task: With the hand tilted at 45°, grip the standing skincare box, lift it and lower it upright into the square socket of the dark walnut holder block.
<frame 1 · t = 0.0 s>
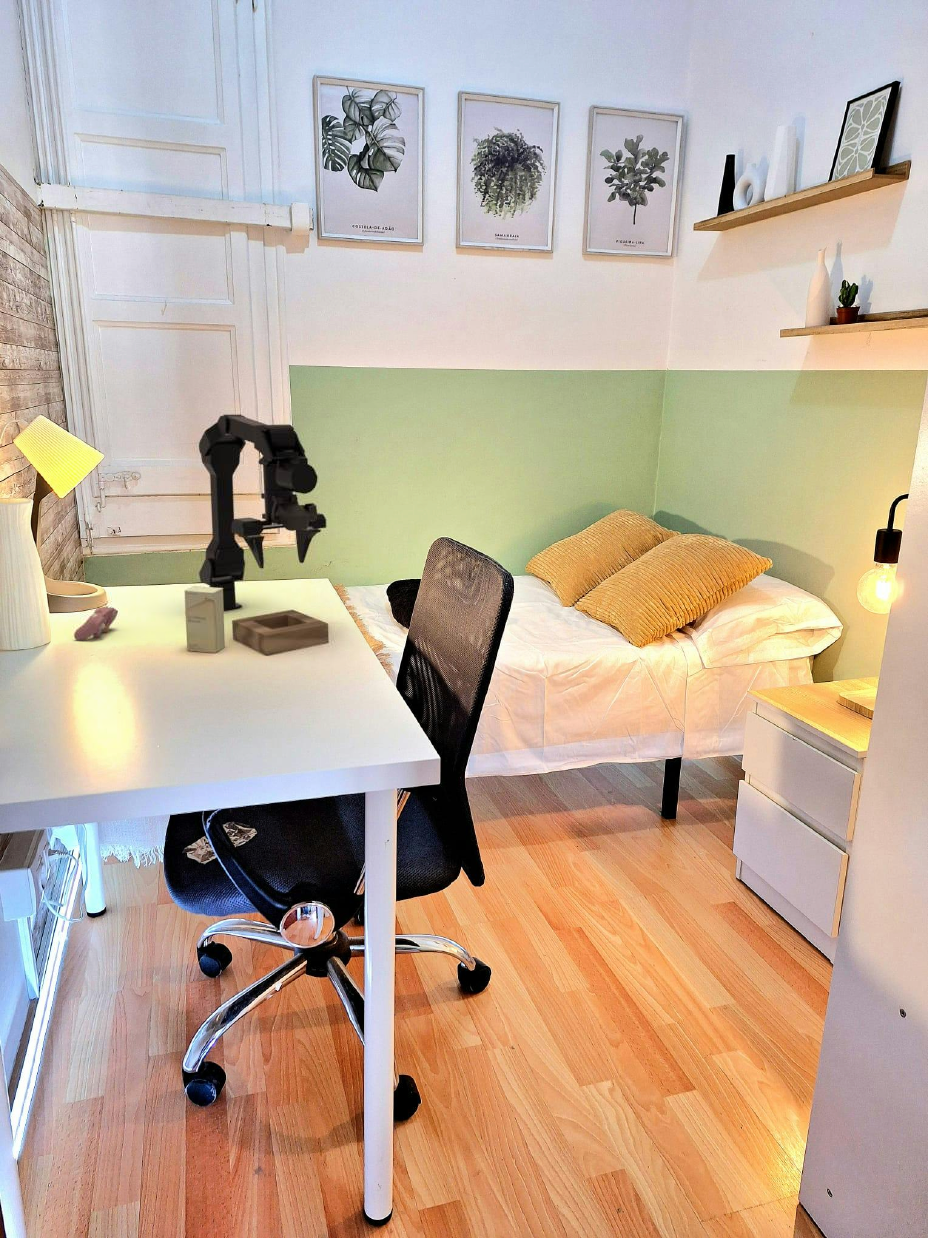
hand: (281, 565, 172), 15 cm above the table, tool pointing down, fingers open, 9 cm apart
walnut holder: (280, 640, 171), on the table
skincare box: (207, 650, 165), on the table
pink toy car: (98, 635, 173), on the table
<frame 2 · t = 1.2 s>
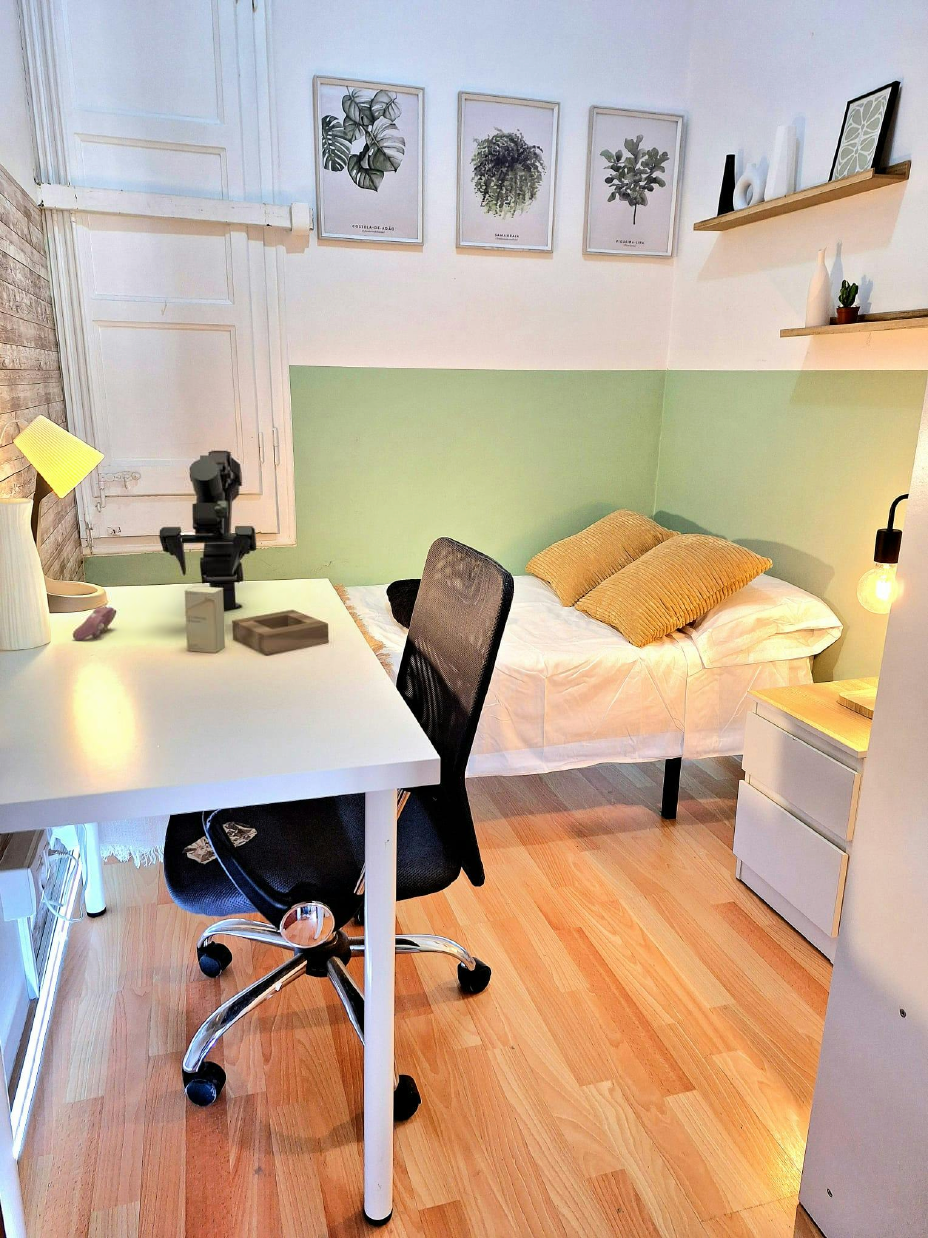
hand: (207, 573, 169), 13 cm above the table, tool tilted 45°, fingers open, 9 cm apart
nothing on the table moved.
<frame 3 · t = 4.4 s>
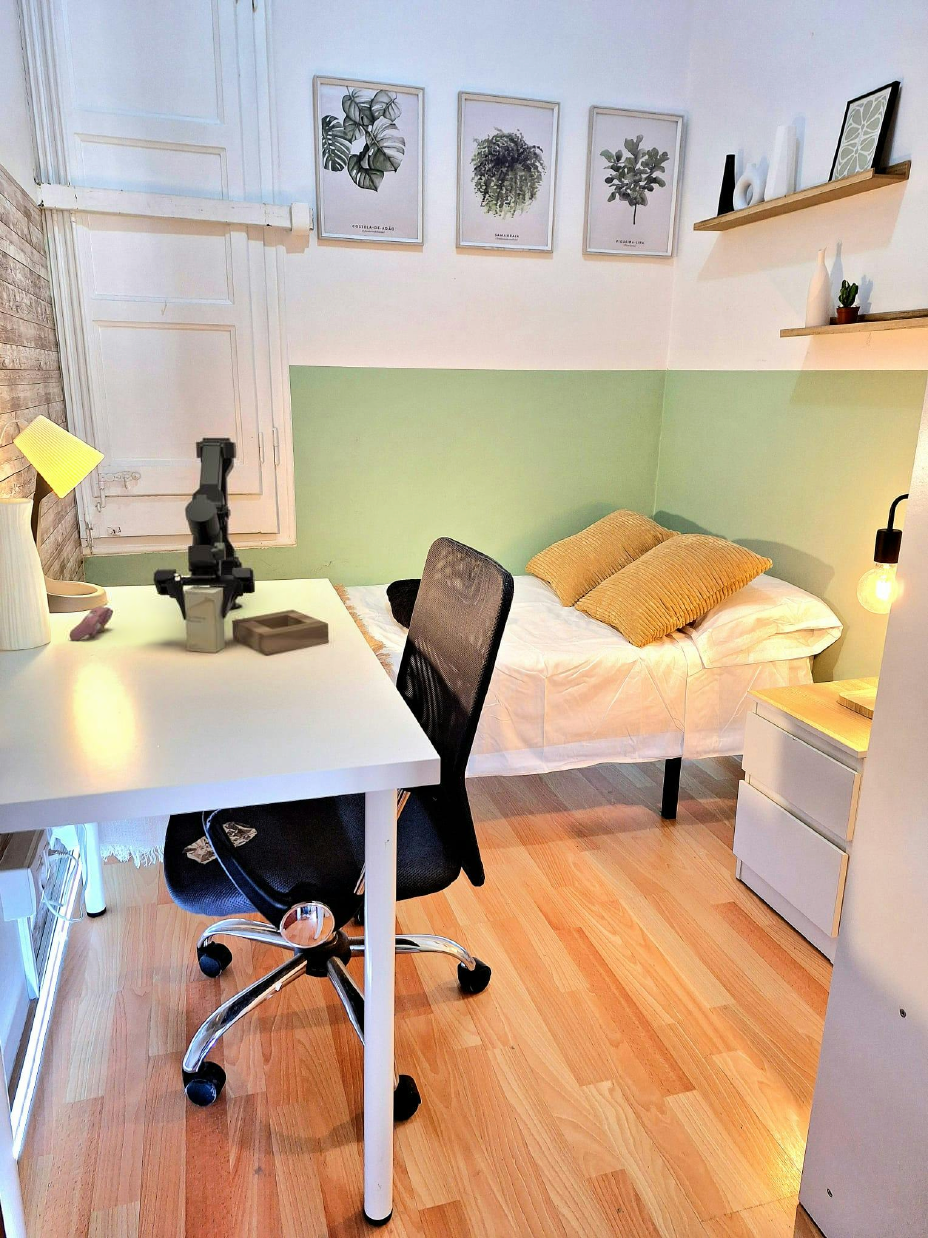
hand: (203, 618, 162), 7 cm above the table, tool tilted 45°, fingers closed on skincare box, 7 cm apart
skincare box: (207, 649, 165), on the table, touching gripper
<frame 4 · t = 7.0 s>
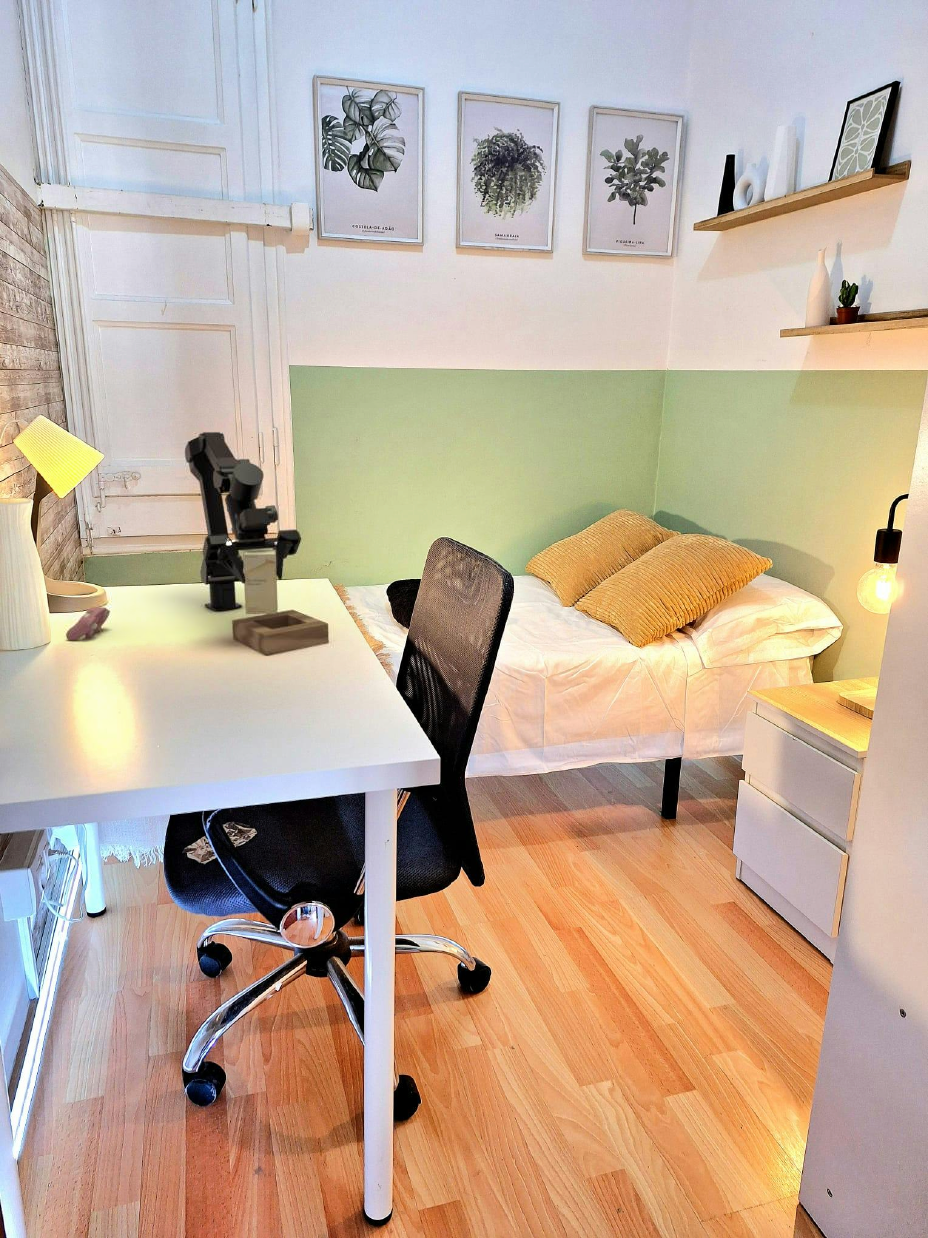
hand: (262, 580, 165), 13 cm above the table, tool tilted 45°, fingers closed on skincare box, 7 cm apart
skincare box: (262, 612, 168), point 6 cm above the table, touching gripper
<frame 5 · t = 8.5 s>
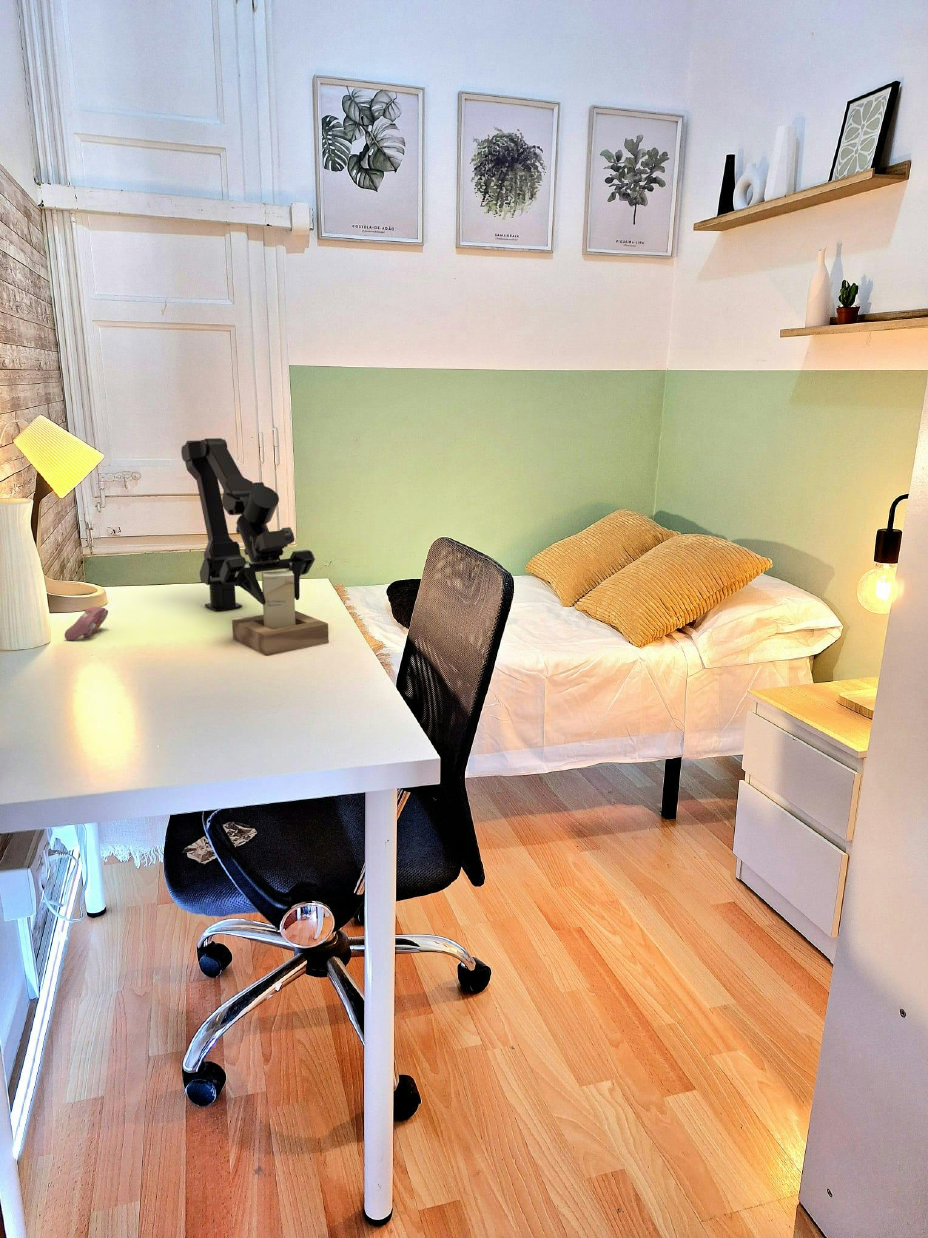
hand: (281, 601, 168), 9 cm above the table, tool tilted 45°, fingers closed on skincare box, 7 cm apart
skincare box: (280, 632, 171), point 2 cm above the table, touching gripper
when the fingers open (7 cm above the table, at t = 9.7 s): skincare box stays where it is, resting in walnut holder.
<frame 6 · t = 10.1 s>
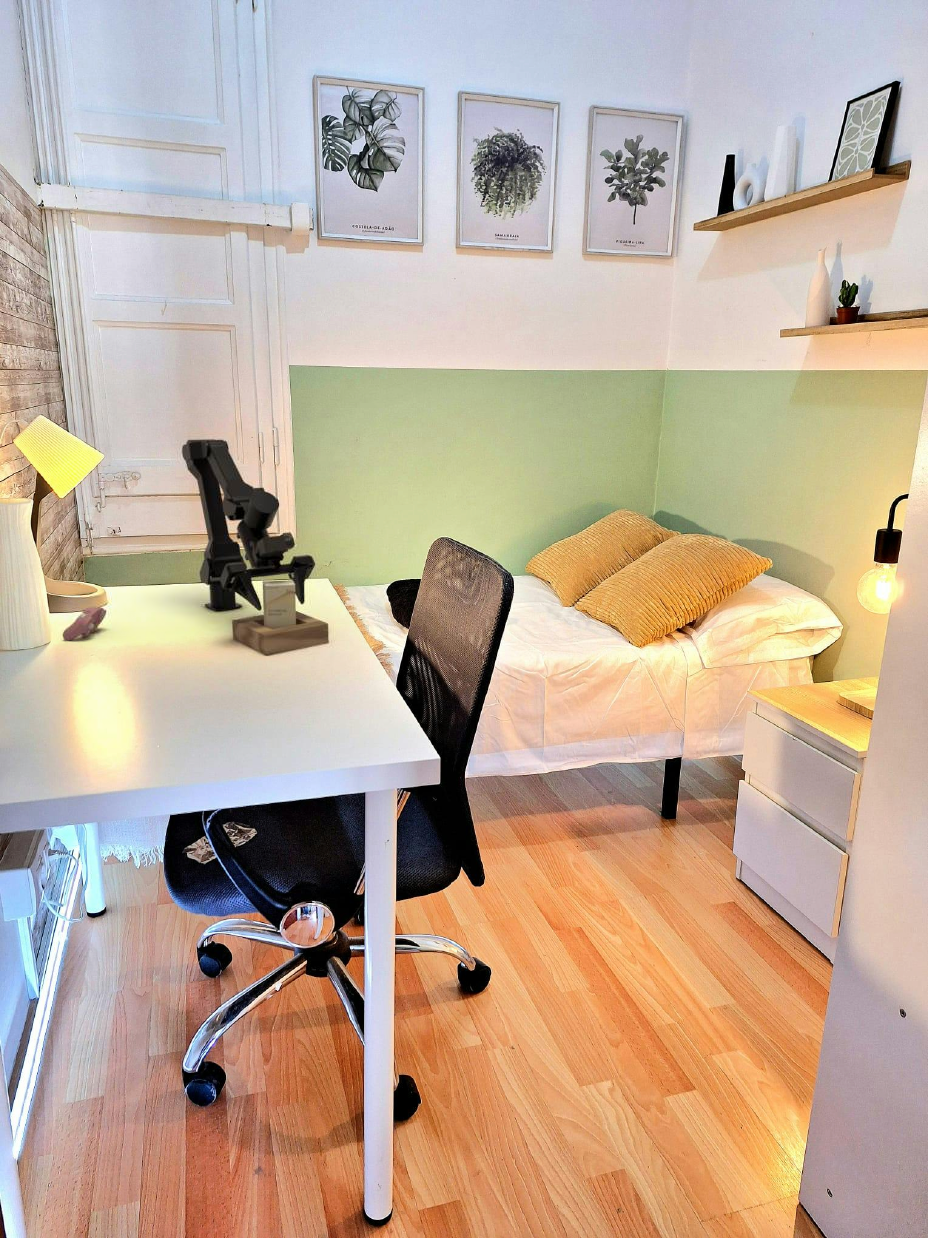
hand: (282, 606, 168), 8 cm above the table, tool tilted 45°, fingers open, 9 cm apart
skincare box: (280, 641, 171), resting in walnut holder
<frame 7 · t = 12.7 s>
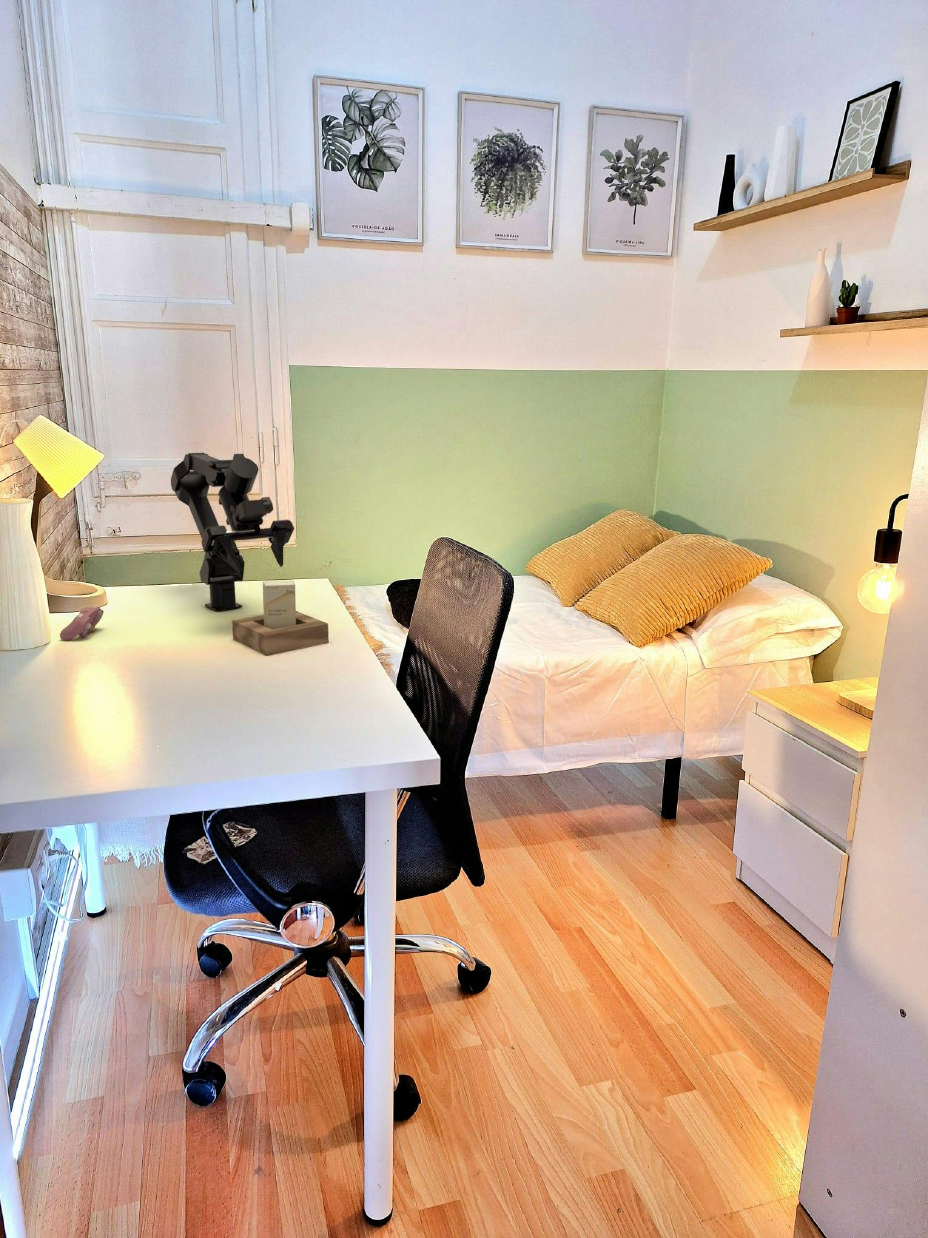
hand: (261, 568, 174), 14 cm above the table, tool tilted 45°, fingers open, 9 cm apart
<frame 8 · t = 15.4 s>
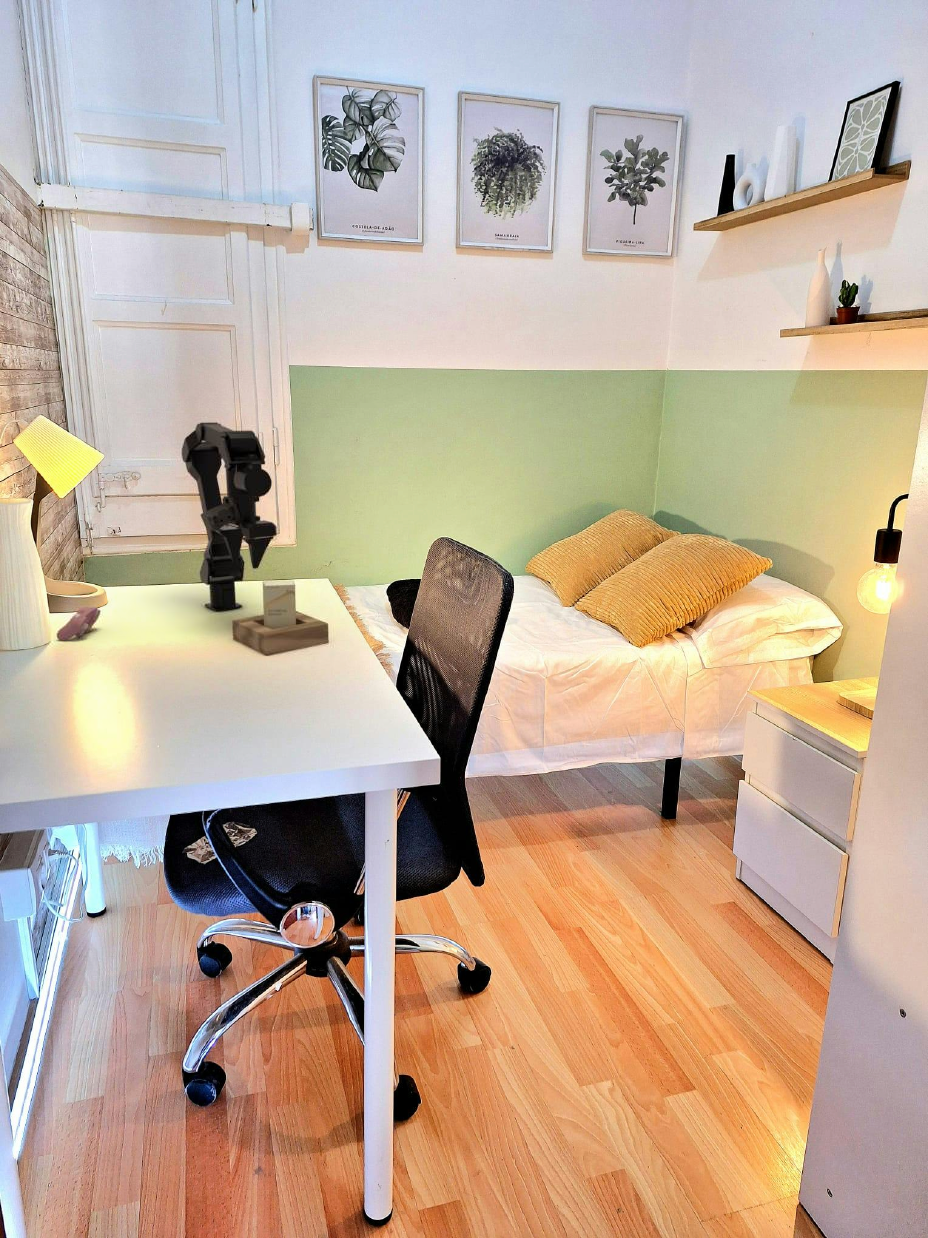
hand: (245, 564, 180), 13 cm above the table, tool pointing down, fingers open, 9 cm apart
at the end: skincare box 0.2 cm from the target spot, resting in walnut holder; skincare box tilted 0°; the gripper is holding nothing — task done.
